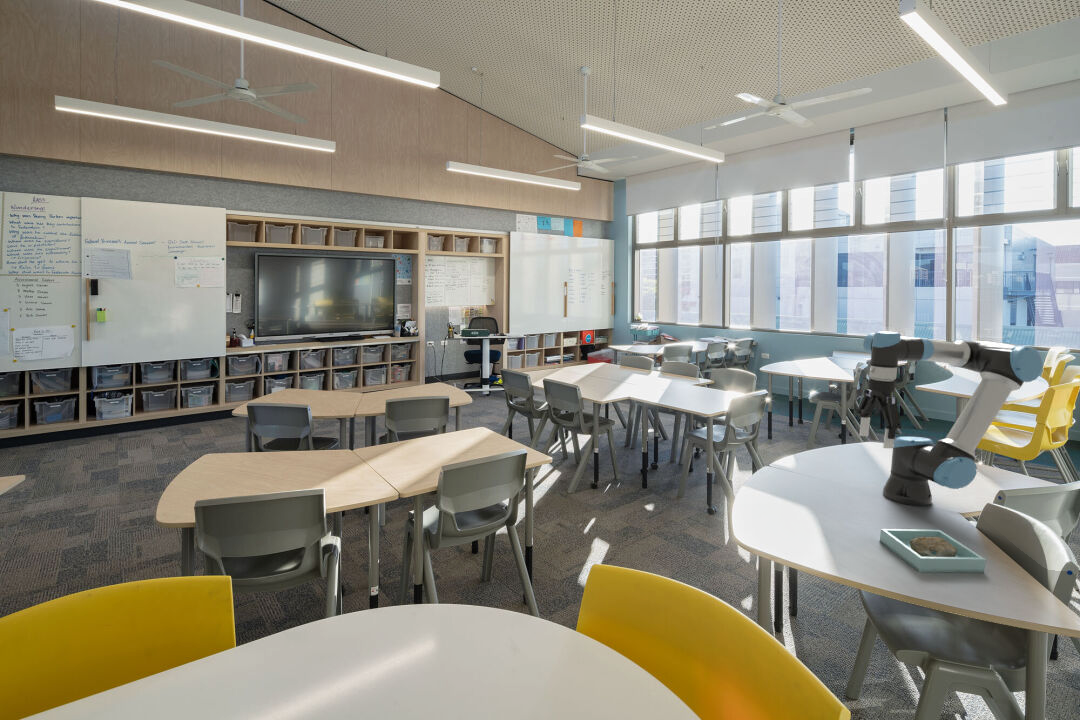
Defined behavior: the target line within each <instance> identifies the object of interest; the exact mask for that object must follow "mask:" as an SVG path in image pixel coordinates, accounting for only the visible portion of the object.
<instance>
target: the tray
mask: <svg viewBox="0 0 1080 720" xmlns="http://www.w3.org/2000/svg"><path fill="white" fill-rule="evenodd" d="M918 537H939V538H942V539H944V540H946V541H947V542H948V543H949V544H951V545H952V546H953V547H955V548H956V549H957V553H956V556H955V557H922V556H920V555H919V554H918V553H916V552H915V551H913V550H912V549H911V546H910V541H911V540H912V539H915V538H918ZM879 542H880V543H881V544H883V546H885V547H887V548H888V549H889V550H890V551H892V552H893V553H894V554H895V555H896V556H898V557H900V559H901V560H903V561H905V562H906V563H907V564H908V565H909V566H911V567H912V568H913V569H915V570H916V571H917V572H919V573H961V574H962V573H966V574H975V573H977V574H984V573H985V570H986V569H985V568H986V561H987V559H986V558H985V557H983V556H981V555H979V554H978V553H976V551H974V550H972V549H970V548H969V547H967V546H966V545H964V544H963V543H961V542H959V541H958V540H956V539H955V538H954V537H951V536H950V535H948V534H947V533H945V532H944V531H942V530H940V529H911V528H909V529H905V528H903V529H902V528H881V529H880V537H879Z"/></svg>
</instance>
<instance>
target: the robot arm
mask: <svg viewBox="0 0 1080 720" xmlns="http://www.w3.org/2000/svg"><path fill="white" fill-rule="evenodd" d="M863 339H864V340H863V341H862V342H863V344H862V345H863V349H864V350H865V351H866V352H867V353H868V354H870V355H871V356H870V367H869V375H868V377H870V378H869V379H868V385H867V389H864V394H863V397H862V399H861V401H860V404H859V406H858V408H857V411H856V413H857V414H859V416H860V423H859V424H860V427H859V434H858V435H859V437H869V432H870V424H871V413H873V411H874V410H876V408H878V409H879V410H880V411H881V413H882V417H883V419H884V422H885V424H886V426H885V427H884V437H883V438H884V439H883V447H882V448H883V449H892V454H891V455H892V456H891V466H890V467H891V468H890V475H889V477H888V478H887V480H886V482H885V485H884V486H883V488H882V495H883V496H884V497H886V498H888V499H889V500H892V501H894V502H897V503H901V504H903V505H910V506H919V507H922V506H923V507H924V506H929V505H931V504H932V502H933V501H932V500H933V495H932V492H931V488H930V485H929V481H931V482H933V483H935V484H937V485H939V486H941V487H945V488H948V489H953V490H957V489H958V490H959V489H963V488H966V487H967V486H969V485H970V484H971V483H972V482H973V480H975V478H976V476H977V472H978V471H977V470H978V465H977V464H976V462H975V460H977V459H976V458H977V457H976V455H975V451H976V448H977V447H978V445H979V444H980V442H981V441H982V439H983V437H985V434H986V432H987V431H988V429H989V428H990V426H991V425H992V423H993V421H994V420H995V418H996V417H997V416H998V413H999V412H1000V410H1001V409H1002V407H1003V406H1004V404H1005V402H1006V401H1007V399H1008V398H1009V396H1010V395H1011V393H1012V392H1013V391H1016V390H1017V391H1018V390H1020V389H1021V388H1022V386H1023V384H1024V383H1030V382H1033V381H1035V380H1037V379H1038V378H1039V376H1040V375H1041V373H1042V370H1043V360H1042V356H1041V354H1040V352H1039V351H1038V350H1037V349H1035V347H1032V346H1027V345H1023V344H1016V343H1015V344H1014V343H1005V342H995V341H989V340H988V341H987V340H986V341H984V340H982V341H981V340H980V341H978V340H977V341H971V340H970V341H969V340H953V341H944V340H943V341H942V340H936V339H929V338H928V337H927V338H926V337H912V336H911V337H909V336H902V335H901V333H900V332H895V331H876V332H872V333H869V334H867V335H866V336H865V338H863ZM905 361H906V362H908V361H909V362H921V361H923V362H924V361H925V362H935V363H943V364H944V363H945V364H949V366H951V367H954V368H961V369H964V370H969V371H972V372H976V373H979V376H980V377H981V381H980V382H979V384H978V386H977V387H976V389H975V390H974V392H973V393H972V395H971V397H970V399H969V400H968V401H967V403H966V405H965V407H964V408H963V410H962V411H961V413H960V415H959V416H958V417H957V419H956V421H955V423H954V424H953V425H952V427H951V428H950V431H949V432H948V433H947V435H946V437H945V438H942V439H938V440H937V441H936V443H934V442H933V439H931V438H927V437H920V436H898V437H896V430H897V429H902V423H901V418H900V412H899V407H898V397H895V396H894V397H893V396H891V394H892V393H894V392H895V391H896V379H897V375H898V365H899V362H905ZM895 437H896V438H895Z"/></svg>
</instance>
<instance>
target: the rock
mask: <svg viewBox="0 0 1080 720" xmlns="http://www.w3.org/2000/svg"><path fill="white" fill-rule="evenodd" d="M910 546H911V549H912V550H913V551H915V552H916V553H918V554H919V555H920V556H922V557H955V556H956V553H957V549H956V548H955V547H953V546H952V545H951V544H949V543H948V542H947V541H946V540H944V539H942V538H939V537H918V538H915V539H912V540H911V541H910Z"/></svg>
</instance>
